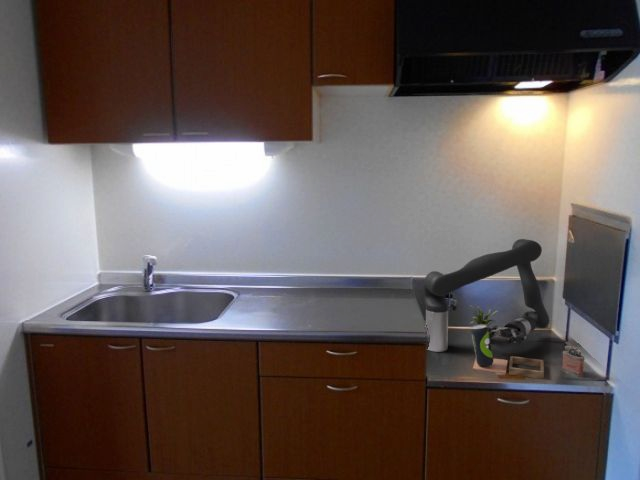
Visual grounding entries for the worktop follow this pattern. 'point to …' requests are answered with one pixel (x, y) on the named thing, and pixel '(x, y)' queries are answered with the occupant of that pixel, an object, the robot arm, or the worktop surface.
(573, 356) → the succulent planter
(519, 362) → the wooden tray
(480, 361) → the beverage can
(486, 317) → the house plant
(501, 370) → the trivet
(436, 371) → the worktop surface
